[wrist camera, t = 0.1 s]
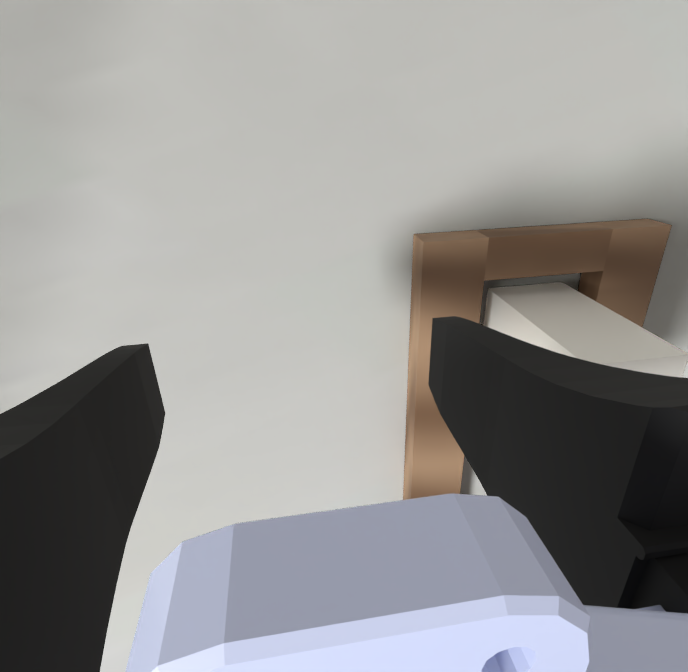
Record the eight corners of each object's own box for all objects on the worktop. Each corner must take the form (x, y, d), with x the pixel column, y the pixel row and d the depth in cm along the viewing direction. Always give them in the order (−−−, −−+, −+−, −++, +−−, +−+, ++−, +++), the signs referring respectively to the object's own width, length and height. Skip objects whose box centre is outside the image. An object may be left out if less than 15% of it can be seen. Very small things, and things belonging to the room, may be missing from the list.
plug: (548, 350, 25) (659, 443, 18) (479, 357, 25) (565, 455, 18) (561, 281, 23) (690, 354, 16) (487, 288, 23) (587, 365, 16)
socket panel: (570, 511, 31) (583, 528, 30) (401, 536, 30) (407, 556, 29) (647, 218, 22) (671, 225, 21) (413, 234, 21) (423, 242, 20)
